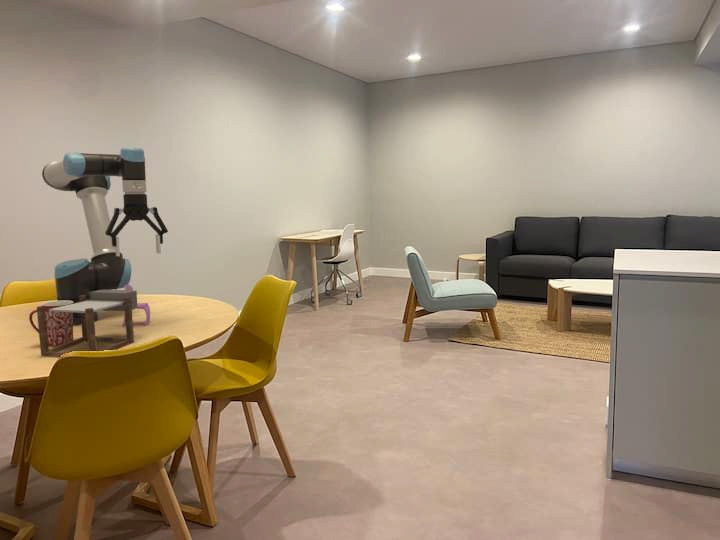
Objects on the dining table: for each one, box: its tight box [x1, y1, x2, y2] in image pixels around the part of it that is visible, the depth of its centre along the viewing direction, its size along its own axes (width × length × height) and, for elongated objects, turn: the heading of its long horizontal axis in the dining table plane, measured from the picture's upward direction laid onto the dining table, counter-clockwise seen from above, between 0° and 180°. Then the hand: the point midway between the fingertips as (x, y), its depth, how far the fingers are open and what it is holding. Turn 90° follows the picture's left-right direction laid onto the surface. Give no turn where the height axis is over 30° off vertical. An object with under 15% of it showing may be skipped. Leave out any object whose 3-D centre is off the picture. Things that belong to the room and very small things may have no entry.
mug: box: [28, 300, 74, 347], centre depth 175 cm, size 13×9×14 cm
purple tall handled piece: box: [121, 284, 151, 328], centre depth 201 cm, size 8×9×15 cm
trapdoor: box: [49, 289, 138, 313], centre depth 173 cm, size 14×24×6 cm, turn 168°
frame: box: [36, 295, 135, 358], centre depth 169 cm, size 18×19×15 cm
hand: (138, 254), depth 190 cm, fingers open, 13 cm apart
